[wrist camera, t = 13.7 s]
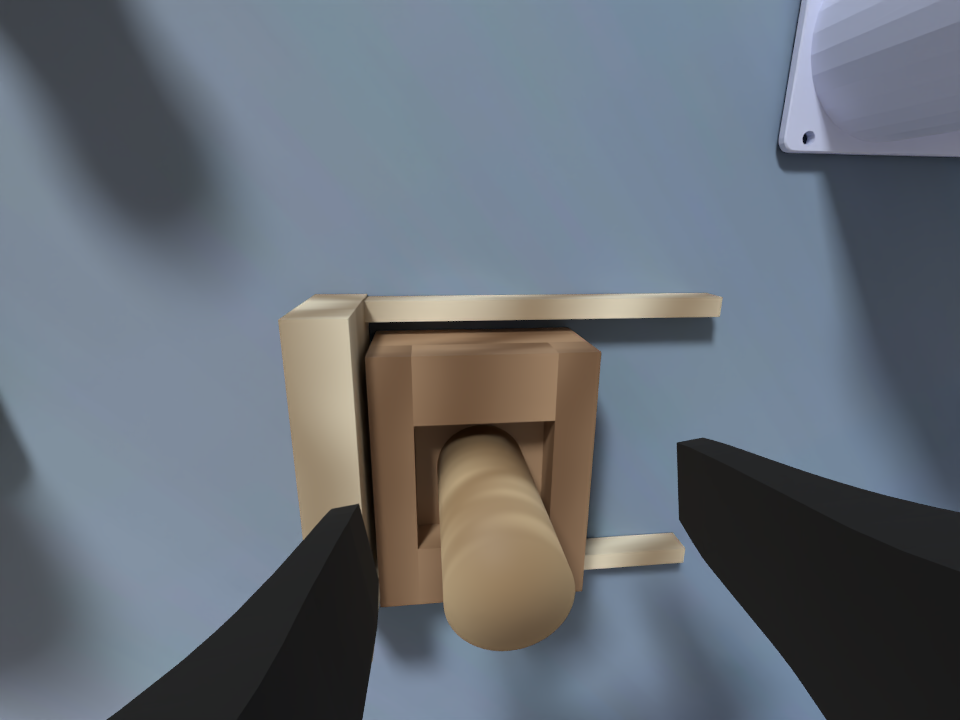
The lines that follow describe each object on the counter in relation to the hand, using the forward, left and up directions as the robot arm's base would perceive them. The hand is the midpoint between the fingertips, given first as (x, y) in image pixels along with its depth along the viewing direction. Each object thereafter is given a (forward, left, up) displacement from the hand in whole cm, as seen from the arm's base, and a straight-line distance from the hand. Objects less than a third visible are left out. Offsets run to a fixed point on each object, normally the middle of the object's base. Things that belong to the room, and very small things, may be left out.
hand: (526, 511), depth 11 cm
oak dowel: (0, +3, -8) cm, 8 cm away
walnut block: (0, +3, -10) cm, 11 cm away
